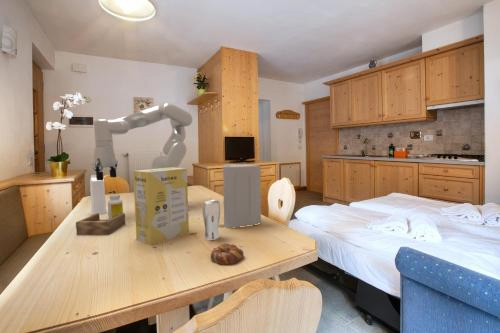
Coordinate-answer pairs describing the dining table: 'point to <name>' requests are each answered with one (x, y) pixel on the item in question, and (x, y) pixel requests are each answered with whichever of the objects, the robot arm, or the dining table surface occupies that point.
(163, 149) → the robot arm
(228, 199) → the paper bag
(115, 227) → the dock
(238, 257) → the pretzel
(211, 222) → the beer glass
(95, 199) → the milk
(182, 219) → the pasta box
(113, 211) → the supplement bottle
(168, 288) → the dining table surface
